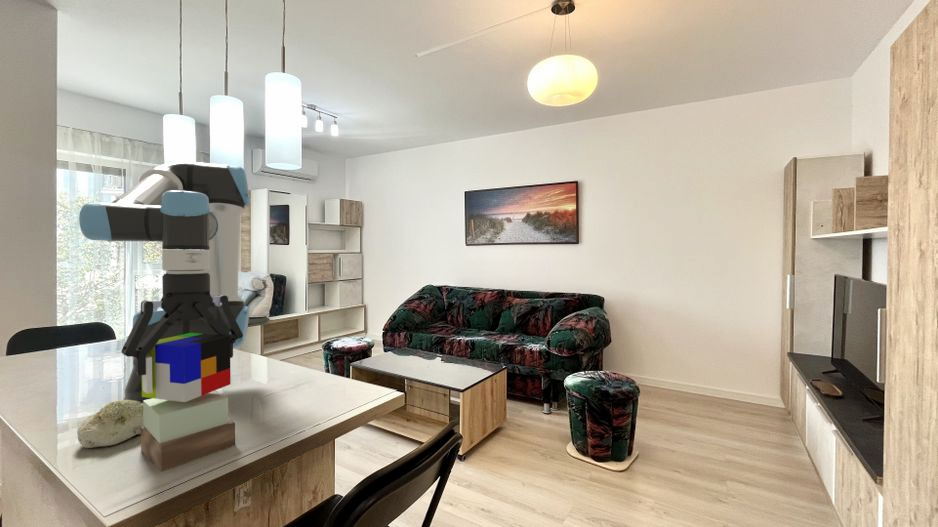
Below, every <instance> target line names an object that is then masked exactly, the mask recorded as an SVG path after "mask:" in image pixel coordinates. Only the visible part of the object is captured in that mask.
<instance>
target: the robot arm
mask: <svg viewBox="0 0 938 527" xmlns="http://www.w3.org/2000/svg"><path fill="white" fill-rule="evenodd" d="M250 199H251V197H250V193H249V184H248V178H247V175H246V171H245V169H244V168H242V167H241V166H238V165H230V164H220V163H219V164H218V163H210V162H209V163H207V162H198V161H196V162H194V161H186V160H183V161H173V162H172V161H171V162H168V163H163V164H159V165H157V166H154V167H151V168H150V169H148V170H146V171H145V172H144V173H142V175H140V177H139V180H138V183H136V184H135V185H133V186H132V187H131V188H129V189H128V190H126V191H125V192H124V193H122V194H121V195H120V196H118V197H117V198H115V199H114V200H113V201H112V202H103V201H100V202H87V203H85V204H84V205H82V207H81V209H80V211H79V216H78V217H79V218H78V220H79V227H80V231H81V233H82V235H83V236H84V238H86V239H88V240H89V241H105V242H110V243H111V242H156V243H162V246H161V251H162V252H161V254H162V255H161V266H162V267H161V270H162V271H164V272H165V273H164V274H163V275H162V278H161V279H162V282H161V284H162V296H161V297H162V298H161V299H160V300H154V301H153V300H152V301H151V300H142V301H141V303H140V311H138V312H136V313H134V315H133V316H132V328H131V330H130V332H129V334H128V337H127V339H126V341H125V343H124V345H123V346H122V349H121V350H120V352H121V354H122V355H123V356H126V357H128V358H130V357H132V368H131V373H130V375H129V377H128V379H127V383H126V385H125V387H124V400H133V401H139V402H140V403H143V400H147V399H152V398H147V397H142V382H143V391H144V392H145V393H147V394H149V393H152V357H151V356H149V355H147V354H148V353H149V352H150V351H151V349H152V348H153V347H154V346H155V344H156V343H157V342H158V341H159V340H160V339H165V338H169V337H174V336H179V335H183V334H188V333H199V334H213V335H227V336H230V359H233V357H234V348H239V347H241V346H242V345H243V344H244V342H245V340H246V336H247V332H248V328H249V327H248V326H249V321H250V307H249V306H246V305H244V304H245V301H244V299H243V298H241V296H239V222H240V220H239V218H240V215H242V214H244V213H245V207H247V206H250V205H251V200H250Z"/></svg>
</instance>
